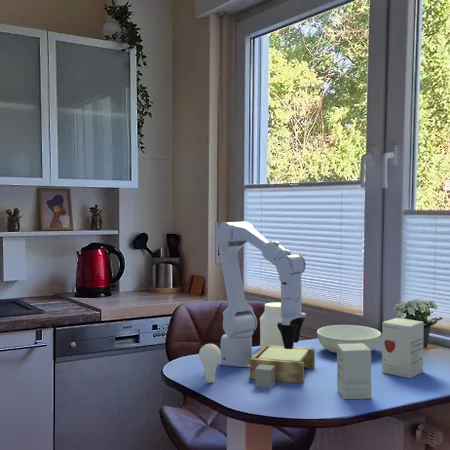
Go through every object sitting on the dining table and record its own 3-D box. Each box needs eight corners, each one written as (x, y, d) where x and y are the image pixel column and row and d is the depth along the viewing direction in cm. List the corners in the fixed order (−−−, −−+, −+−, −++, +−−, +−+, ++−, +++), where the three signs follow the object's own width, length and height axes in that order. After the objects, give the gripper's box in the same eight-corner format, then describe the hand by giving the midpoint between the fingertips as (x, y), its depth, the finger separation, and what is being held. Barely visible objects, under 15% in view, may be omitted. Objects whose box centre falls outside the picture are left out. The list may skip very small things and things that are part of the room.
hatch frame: (249, 378, 167) (249, 359, 167) (266, 362, 183) (265, 344, 183) (302, 383, 162) (302, 363, 162) (314, 366, 178) (314, 348, 178)
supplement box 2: (380, 372, 171) (380, 321, 170) (395, 366, 177) (395, 317, 177) (410, 379, 164) (410, 326, 164) (424, 372, 171) (424, 321, 170)
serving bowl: (306, 354, 192) (306, 333, 192) (332, 341, 209) (332, 322, 209) (367, 364, 180) (367, 341, 180) (390, 349, 197) (390, 329, 197)
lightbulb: (205, 387, 159) (204, 347, 158) (195, 381, 164) (195, 342, 164) (225, 384, 162) (224, 344, 161) (215, 378, 167) (214, 340, 167)
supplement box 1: (364, 389, 156) (364, 342, 155) (371, 399, 148) (371, 349, 148) (336, 390, 156) (336, 343, 155) (342, 399, 148) (342, 350, 148)
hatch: (256, 360, 168) (256, 357, 168) (268, 349, 181) (268, 346, 181) (298, 364, 164) (298, 361, 164) (308, 352, 176) (308, 349, 176)
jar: (275, 353, 193) (274, 308, 193) (255, 348, 201) (254, 304, 200) (298, 347, 201) (298, 304, 200) (278, 342, 208) (278, 300, 208)
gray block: (255, 386, 160) (255, 368, 159) (259, 382, 164) (259, 364, 163) (271, 388, 158) (270, 370, 158) (275, 383, 162) (275, 365, 162)
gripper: (300, 302, 156) (300, 352, 157) (310, 294, 170) (310, 340, 171) (274, 301, 159) (274, 351, 159) (286, 293, 172) (286, 338, 173)
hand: (291, 345), depth 165 cm, fingers open, 7 cm apart
